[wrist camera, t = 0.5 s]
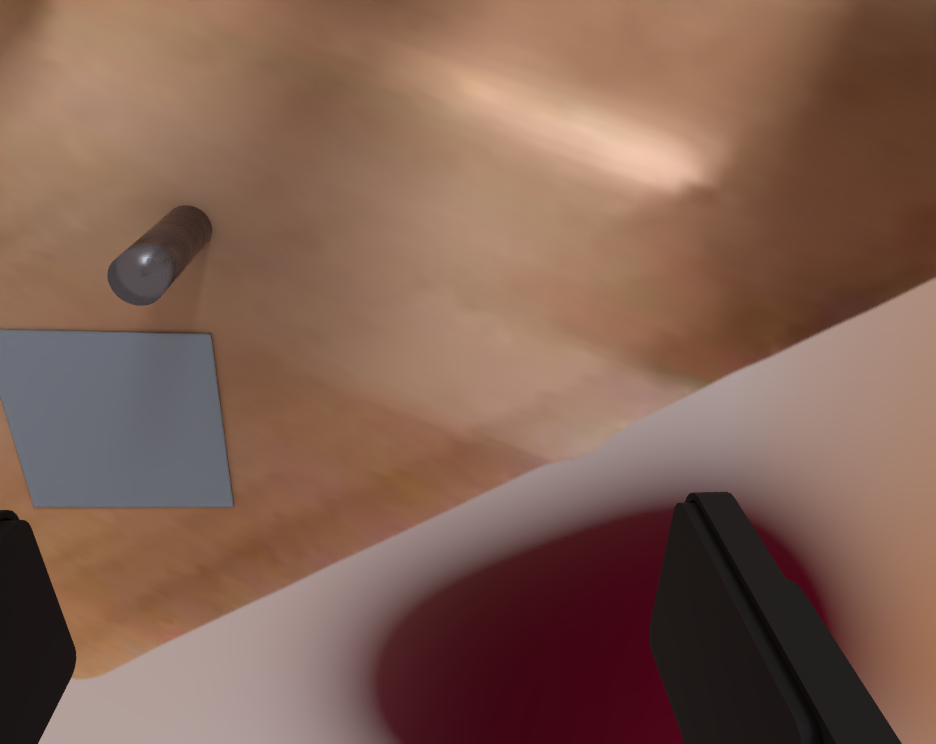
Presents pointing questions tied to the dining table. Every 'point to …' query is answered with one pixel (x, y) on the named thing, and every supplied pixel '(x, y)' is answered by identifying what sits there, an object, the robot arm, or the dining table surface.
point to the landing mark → (115, 418)
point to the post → (159, 256)
